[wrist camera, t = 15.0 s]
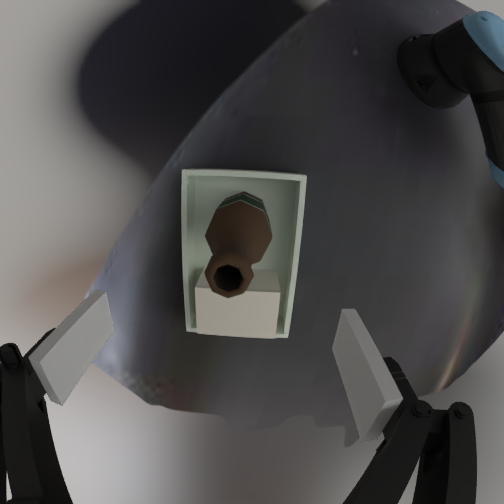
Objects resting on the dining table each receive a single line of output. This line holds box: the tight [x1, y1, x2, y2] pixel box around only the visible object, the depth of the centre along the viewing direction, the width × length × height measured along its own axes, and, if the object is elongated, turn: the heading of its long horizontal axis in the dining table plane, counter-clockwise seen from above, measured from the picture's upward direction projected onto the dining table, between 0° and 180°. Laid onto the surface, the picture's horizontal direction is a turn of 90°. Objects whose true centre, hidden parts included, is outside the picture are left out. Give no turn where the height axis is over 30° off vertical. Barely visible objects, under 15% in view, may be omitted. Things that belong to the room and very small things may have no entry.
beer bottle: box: [204, 191, 272, 298], centre depth 31 cm, size 8×8×24 cm
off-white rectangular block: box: [195, 266, 281, 339], centre depth 43 cm, size 12×8×8 cm, turn 87°
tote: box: [181, 168, 307, 338], centre depth 43 cm, size 17×26×6 cm, turn 177°
